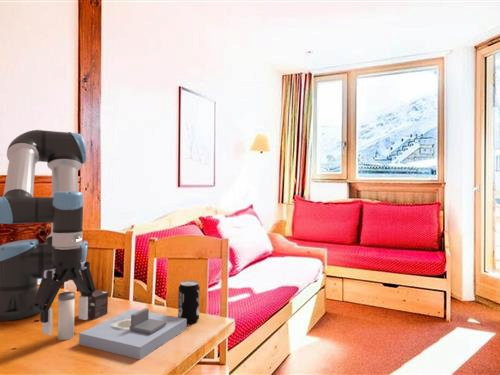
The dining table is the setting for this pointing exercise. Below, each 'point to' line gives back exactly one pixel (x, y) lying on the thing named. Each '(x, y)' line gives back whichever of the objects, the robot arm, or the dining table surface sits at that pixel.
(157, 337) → the socket board
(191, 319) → the beverage can
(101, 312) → the box
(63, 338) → the plug
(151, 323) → the grey l-shaped block
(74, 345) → the dining table surface
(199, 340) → the dining table surface
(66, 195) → the robot arm
